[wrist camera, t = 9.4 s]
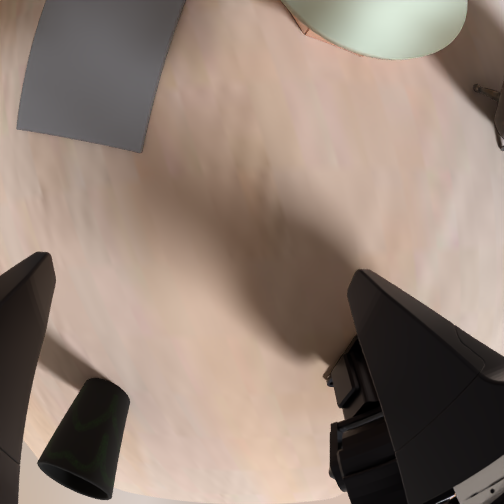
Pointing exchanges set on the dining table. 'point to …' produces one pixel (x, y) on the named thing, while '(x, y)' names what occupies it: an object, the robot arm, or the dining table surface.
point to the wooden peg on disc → (383, 24)
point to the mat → (97, 69)
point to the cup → (88, 440)
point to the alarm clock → (503, 109)
